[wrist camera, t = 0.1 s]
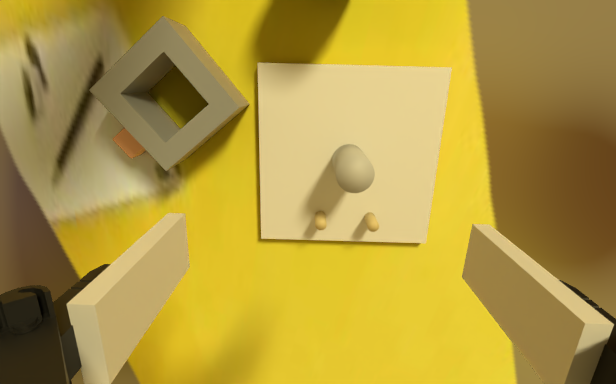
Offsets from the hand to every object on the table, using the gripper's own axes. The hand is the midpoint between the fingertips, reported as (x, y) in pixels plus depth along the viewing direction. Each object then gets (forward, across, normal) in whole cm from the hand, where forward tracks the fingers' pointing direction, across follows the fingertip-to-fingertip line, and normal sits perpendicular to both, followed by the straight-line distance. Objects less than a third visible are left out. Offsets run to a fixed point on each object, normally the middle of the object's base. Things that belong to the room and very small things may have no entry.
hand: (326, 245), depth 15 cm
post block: (+28, +4, -2) cm, 28 cm away
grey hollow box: (+28, -18, +4) cm, 33 cm away
